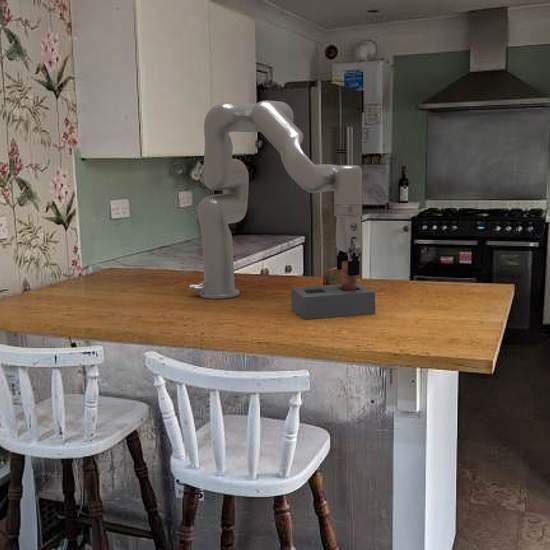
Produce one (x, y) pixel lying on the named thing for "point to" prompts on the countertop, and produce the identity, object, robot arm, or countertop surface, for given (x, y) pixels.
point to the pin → (347, 278)
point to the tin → (332, 277)
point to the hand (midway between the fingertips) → (347, 272)
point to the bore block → (332, 301)
